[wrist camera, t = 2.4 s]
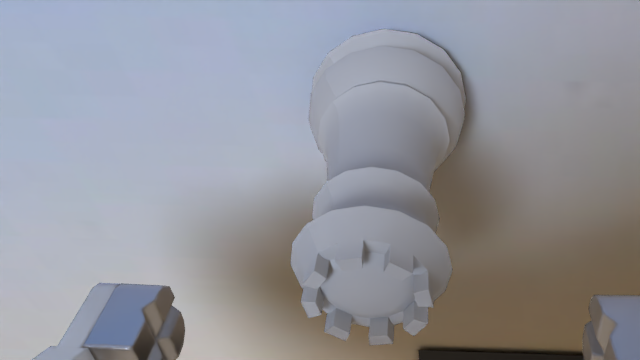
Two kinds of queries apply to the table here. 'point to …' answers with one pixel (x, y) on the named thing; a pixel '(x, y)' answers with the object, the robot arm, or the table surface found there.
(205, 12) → the table surface
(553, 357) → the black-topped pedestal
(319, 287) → the rook chess piece
